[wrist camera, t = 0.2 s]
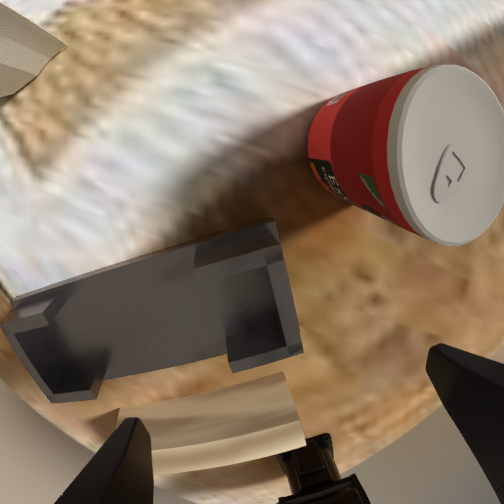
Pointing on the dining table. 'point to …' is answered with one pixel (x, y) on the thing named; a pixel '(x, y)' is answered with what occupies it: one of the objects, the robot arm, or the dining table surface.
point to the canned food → (416, 152)
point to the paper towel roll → (23, 50)
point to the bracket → (160, 314)
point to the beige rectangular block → (220, 425)
